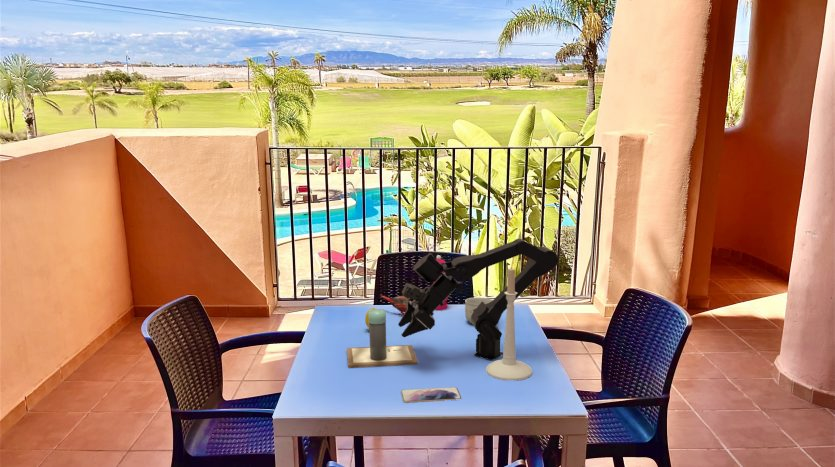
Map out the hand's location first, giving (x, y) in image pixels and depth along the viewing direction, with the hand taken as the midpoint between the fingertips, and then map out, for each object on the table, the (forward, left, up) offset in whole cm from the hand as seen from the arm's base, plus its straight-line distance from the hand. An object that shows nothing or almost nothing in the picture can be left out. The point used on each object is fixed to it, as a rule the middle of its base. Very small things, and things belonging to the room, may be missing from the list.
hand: (400, 330), depth 193 cm
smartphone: (-22, +14, -9) cm, 28 cm away
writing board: (+6, +2, -9) cm, 11 cm away
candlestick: (-30, -12, -9) cm, 33 cm away
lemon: (+23, -15, -9) cm, 29 cm away
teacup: (-2, -43, -9) cm, 44 cm away
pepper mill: (+21, -49, -9) cm, 54 cm away
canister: (+5, +5, -8) cm, 10 cm away
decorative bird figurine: (+27, -33, -9) cm, 43 cm away
